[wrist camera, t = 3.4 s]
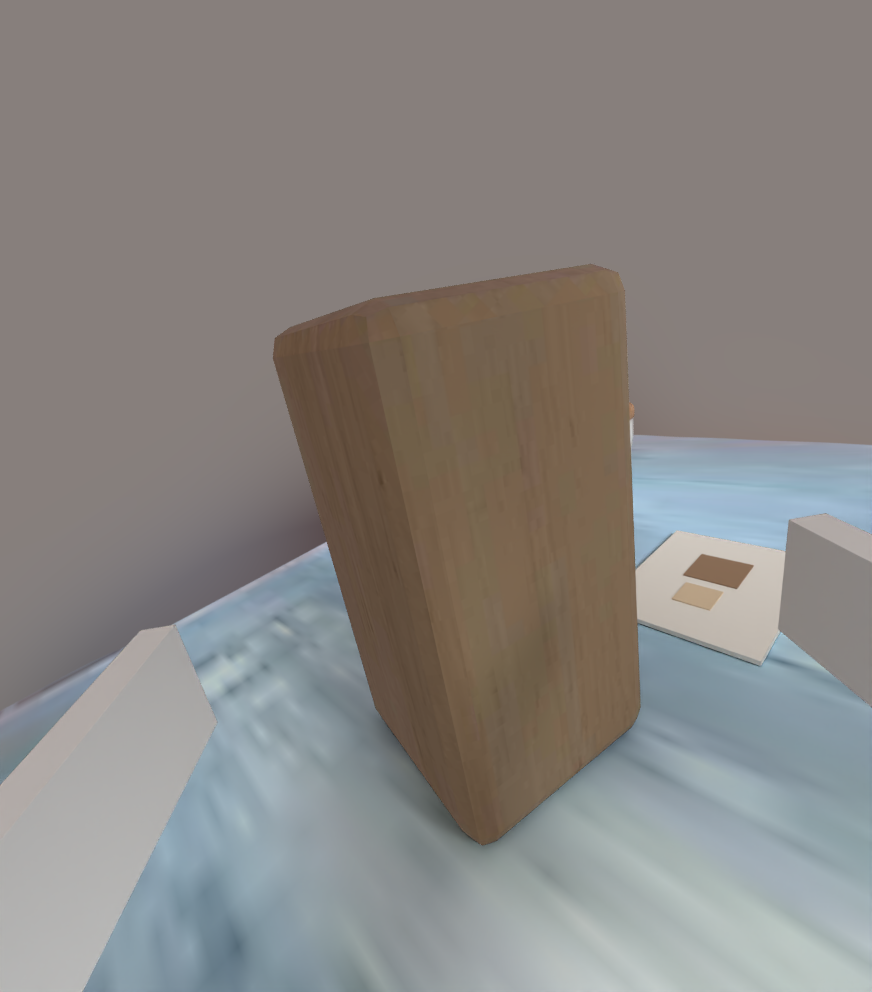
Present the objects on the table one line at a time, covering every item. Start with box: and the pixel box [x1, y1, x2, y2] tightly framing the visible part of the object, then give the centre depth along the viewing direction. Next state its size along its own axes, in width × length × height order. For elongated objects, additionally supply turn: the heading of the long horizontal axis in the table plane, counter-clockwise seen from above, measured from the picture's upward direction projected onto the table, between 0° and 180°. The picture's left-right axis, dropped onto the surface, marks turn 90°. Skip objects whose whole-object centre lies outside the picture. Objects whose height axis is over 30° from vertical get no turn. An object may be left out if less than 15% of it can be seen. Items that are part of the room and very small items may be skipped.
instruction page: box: [635, 531, 786, 666], centre depth 31 cm, size 12×9×1 cm
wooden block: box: [273, 264, 641, 846], centre depth 20 cm, size 10×10×20 cm
